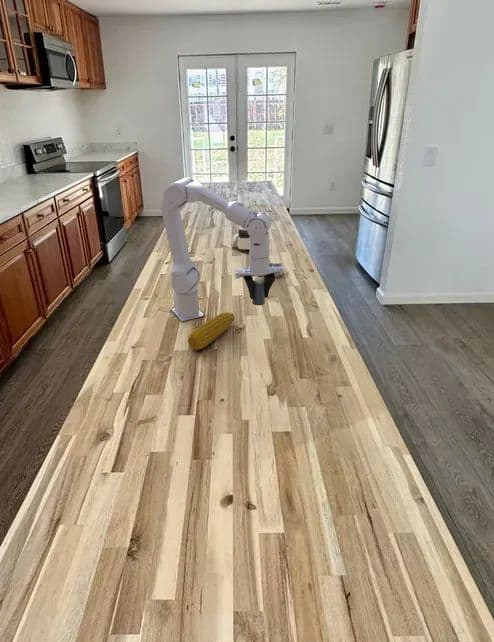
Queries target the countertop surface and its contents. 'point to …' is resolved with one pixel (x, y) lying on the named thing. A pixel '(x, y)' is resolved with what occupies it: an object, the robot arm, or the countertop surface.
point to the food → (210, 330)
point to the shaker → (259, 291)
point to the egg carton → (275, 265)
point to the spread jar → (241, 240)
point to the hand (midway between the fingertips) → (258, 297)
